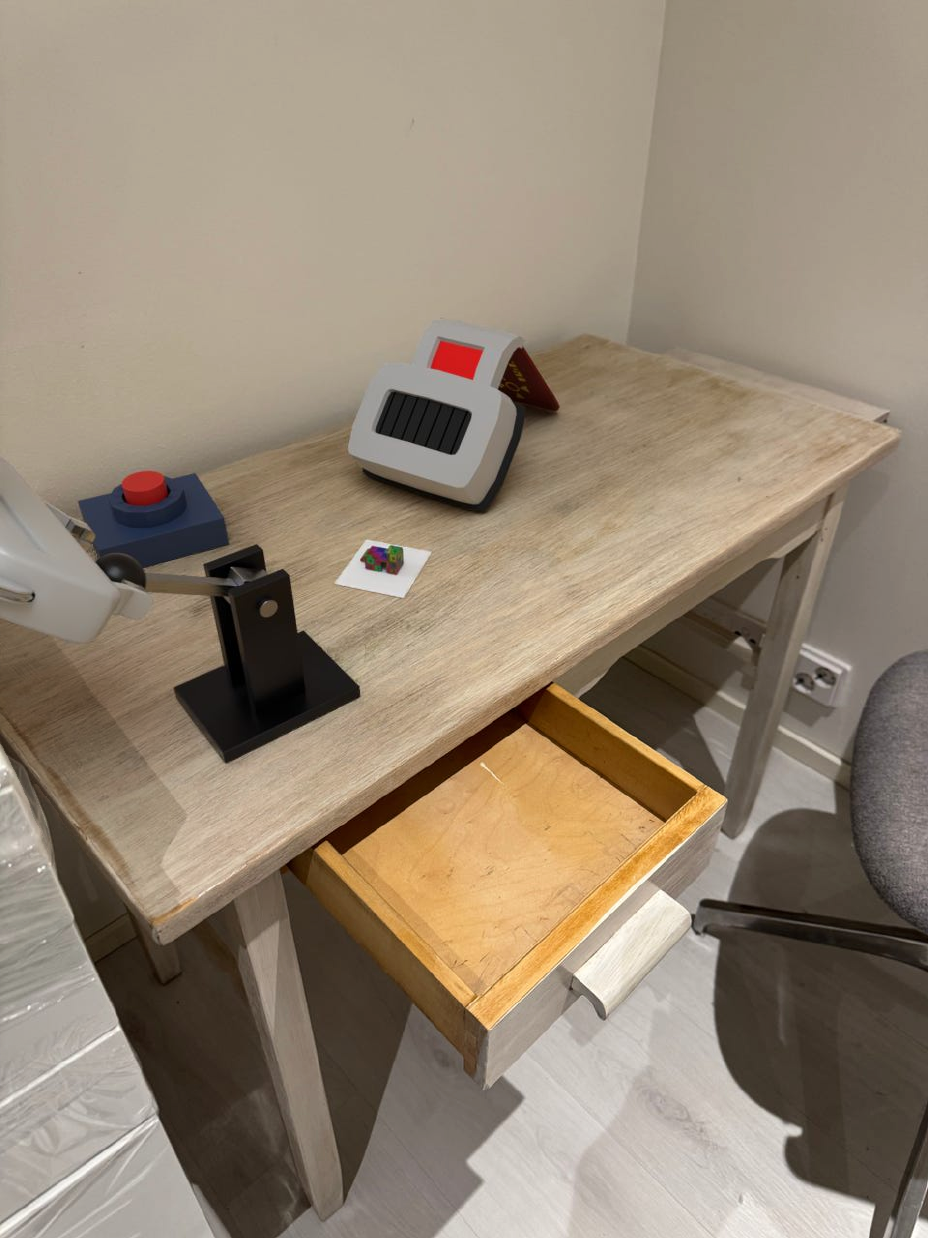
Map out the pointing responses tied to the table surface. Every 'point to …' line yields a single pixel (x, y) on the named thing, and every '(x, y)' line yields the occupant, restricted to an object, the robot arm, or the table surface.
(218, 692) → the switch bracket
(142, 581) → the lever
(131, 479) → the stop button
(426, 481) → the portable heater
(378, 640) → the table surface
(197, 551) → the stop box
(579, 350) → the table surface
